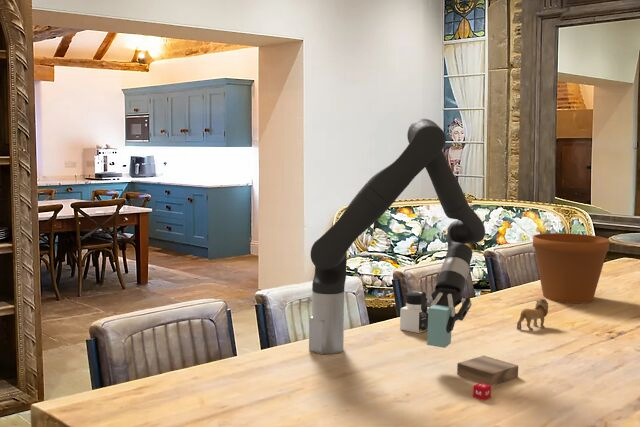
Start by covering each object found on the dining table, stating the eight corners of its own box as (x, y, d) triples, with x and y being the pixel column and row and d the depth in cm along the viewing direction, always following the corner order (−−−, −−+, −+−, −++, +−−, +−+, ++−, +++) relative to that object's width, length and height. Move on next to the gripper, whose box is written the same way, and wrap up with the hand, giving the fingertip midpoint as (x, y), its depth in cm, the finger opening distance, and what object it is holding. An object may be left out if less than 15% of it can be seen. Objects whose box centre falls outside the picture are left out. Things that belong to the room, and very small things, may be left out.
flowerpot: (516, 292, 294) (519, 234, 291) (575, 288, 302) (578, 232, 300) (559, 307, 267) (562, 244, 265) (622, 303, 276) (625, 242, 273)
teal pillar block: (445, 347, 191) (446, 310, 190) (426, 344, 193) (428, 307, 192) (450, 343, 195) (452, 306, 194) (432, 340, 198) (434, 304, 197)
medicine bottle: (419, 333, 230) (420, 296, 229) (399, 329, 234) (400, 293, 233) (430, 329, 236) (431, 292, 234) (410, 325, 240) (411, 289, 239)
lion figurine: (537, 322, 246) (538, 296, 245) (551, 325, 242) (552, 299, 241) (512, 329, 236) (513, 302, 235) (527, 333, 232) (528, 305, 231)
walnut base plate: (491, 385, 182) (492, 373, 182) (457, 374, 191) (457, 363, 190) (517, 376, 189) (518, 365, 189) (483, 366, 198) (483, 355, 197)
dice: (472, 397, 174) (473, 385, 174) (480, 394, 176) (480, 382, 176) (483, 400, 172) (484, 388, 172) (490, 397, 174) (491, 385, 174)
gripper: (480, 288, 201) (466, 341, 192) (430, 282, 208) (414, 333, 198) (476, 272, 196) (461, 325, 186) (425, 266, 202) (408, 318, 193)
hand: (437, 329), depth 192 cm, fingers closed on teal pillar block, 5 cm apart
